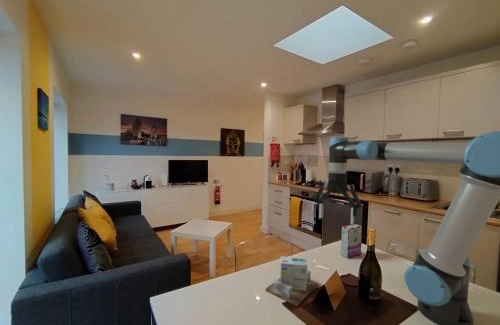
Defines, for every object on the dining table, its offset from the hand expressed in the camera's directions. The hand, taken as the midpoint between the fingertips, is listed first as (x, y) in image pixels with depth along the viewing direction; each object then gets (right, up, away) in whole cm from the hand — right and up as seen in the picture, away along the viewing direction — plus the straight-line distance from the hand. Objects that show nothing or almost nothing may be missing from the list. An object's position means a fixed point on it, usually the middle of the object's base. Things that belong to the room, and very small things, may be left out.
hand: (336, 220), depth 104 cm
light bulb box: (-21, -25, -7) cm, 33 cm away
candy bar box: (+18, -26, +27) cm, 42 cm away
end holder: (-21, -26, -7) cm, 34 cm away
